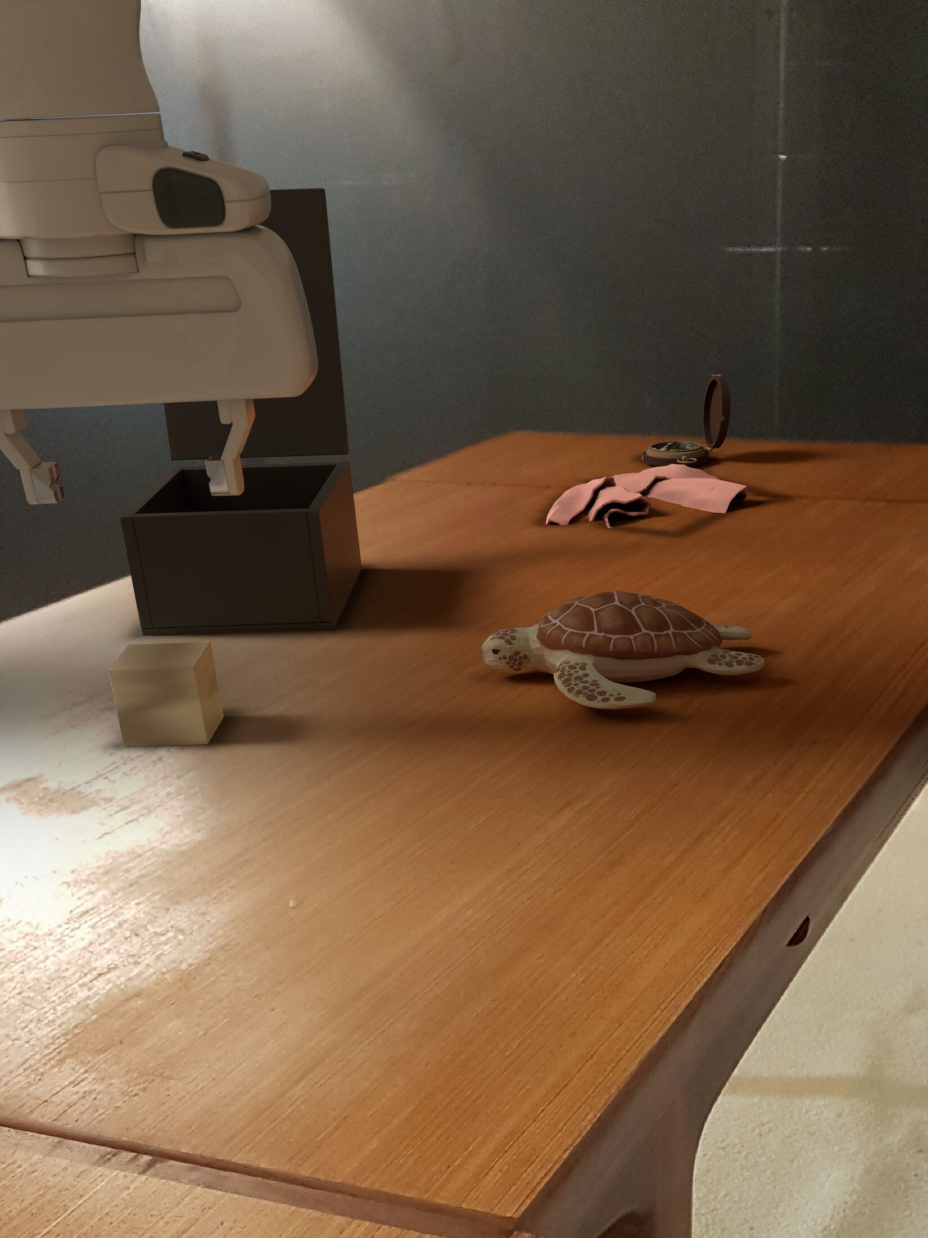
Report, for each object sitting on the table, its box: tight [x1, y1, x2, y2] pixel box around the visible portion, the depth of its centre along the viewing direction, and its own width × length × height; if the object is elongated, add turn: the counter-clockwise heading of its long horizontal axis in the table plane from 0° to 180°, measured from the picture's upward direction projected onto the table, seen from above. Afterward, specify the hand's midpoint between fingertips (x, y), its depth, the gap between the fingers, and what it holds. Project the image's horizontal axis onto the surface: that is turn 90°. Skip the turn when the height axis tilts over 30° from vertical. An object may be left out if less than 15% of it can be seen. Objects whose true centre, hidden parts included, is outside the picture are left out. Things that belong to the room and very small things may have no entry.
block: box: [108, 641, 225, 748], centre depth 90 cm, size 5×5×5 cm
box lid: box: [162, 187, 350, 461], centre depth 112 cm, size 16×13×1 cm
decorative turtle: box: [479, 590, 765, 710], centre depth 96 cm, size 18×17×5 cm
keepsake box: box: [119, 461, 363, 636], centre depth 111 cm, size 16×13×8 cm
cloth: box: [545, 464, 748, 529], centre depth 135 cm, size 20×22×2 cm
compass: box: [641, 373, 732, 467], centre depth 148 cm, size 8×8×7 cm
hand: (137, 497), depth 84 cm, fingers open, 8 cm apart
